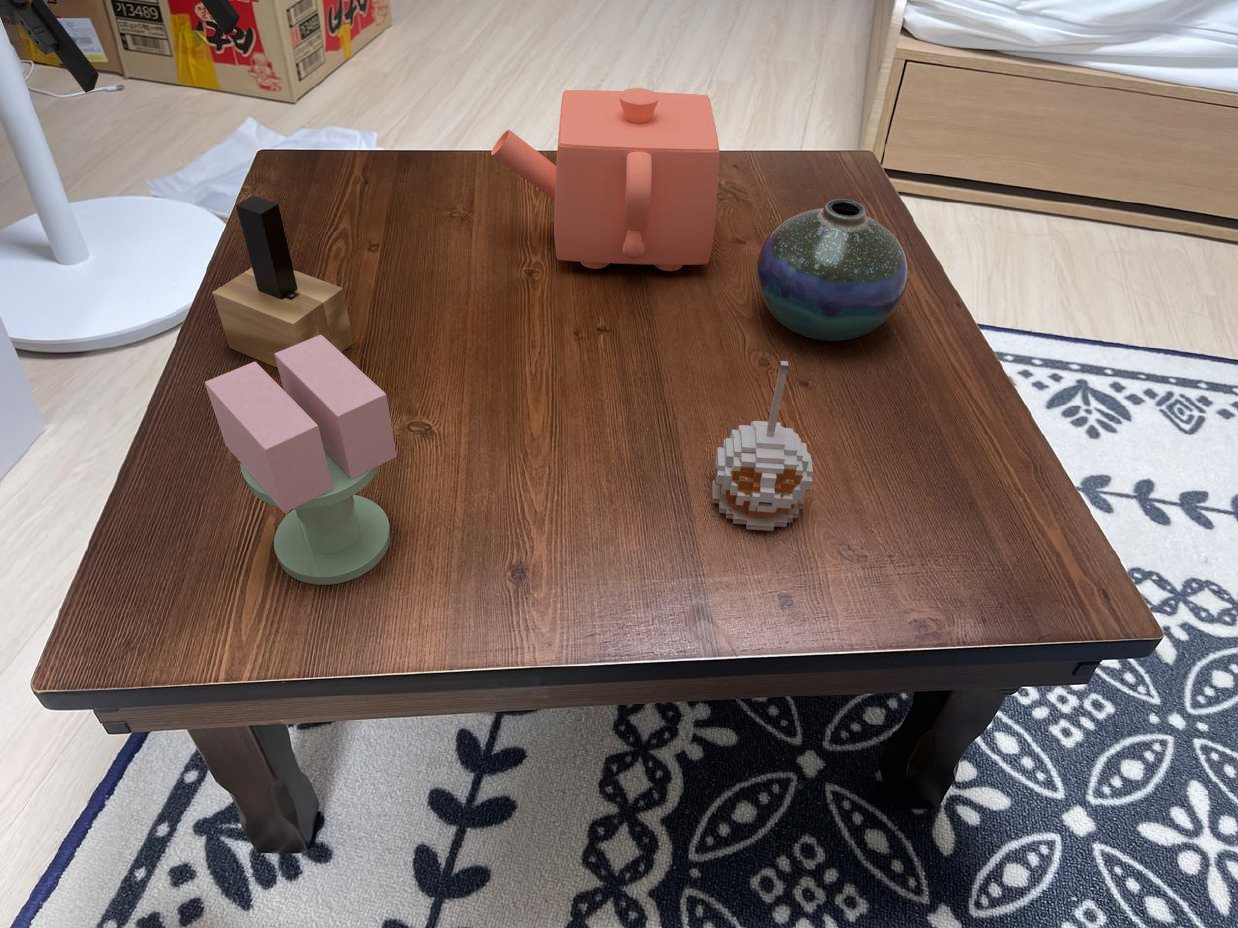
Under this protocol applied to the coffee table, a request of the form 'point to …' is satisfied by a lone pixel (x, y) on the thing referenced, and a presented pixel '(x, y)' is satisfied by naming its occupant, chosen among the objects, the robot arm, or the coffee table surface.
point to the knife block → (281, 316)
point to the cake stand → (330, 531)
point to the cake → (303, 421)
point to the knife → (267, 247)
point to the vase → (832, 272)
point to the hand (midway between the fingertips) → (166, 54)
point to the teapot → (628, 177)
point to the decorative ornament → (763, 471)
